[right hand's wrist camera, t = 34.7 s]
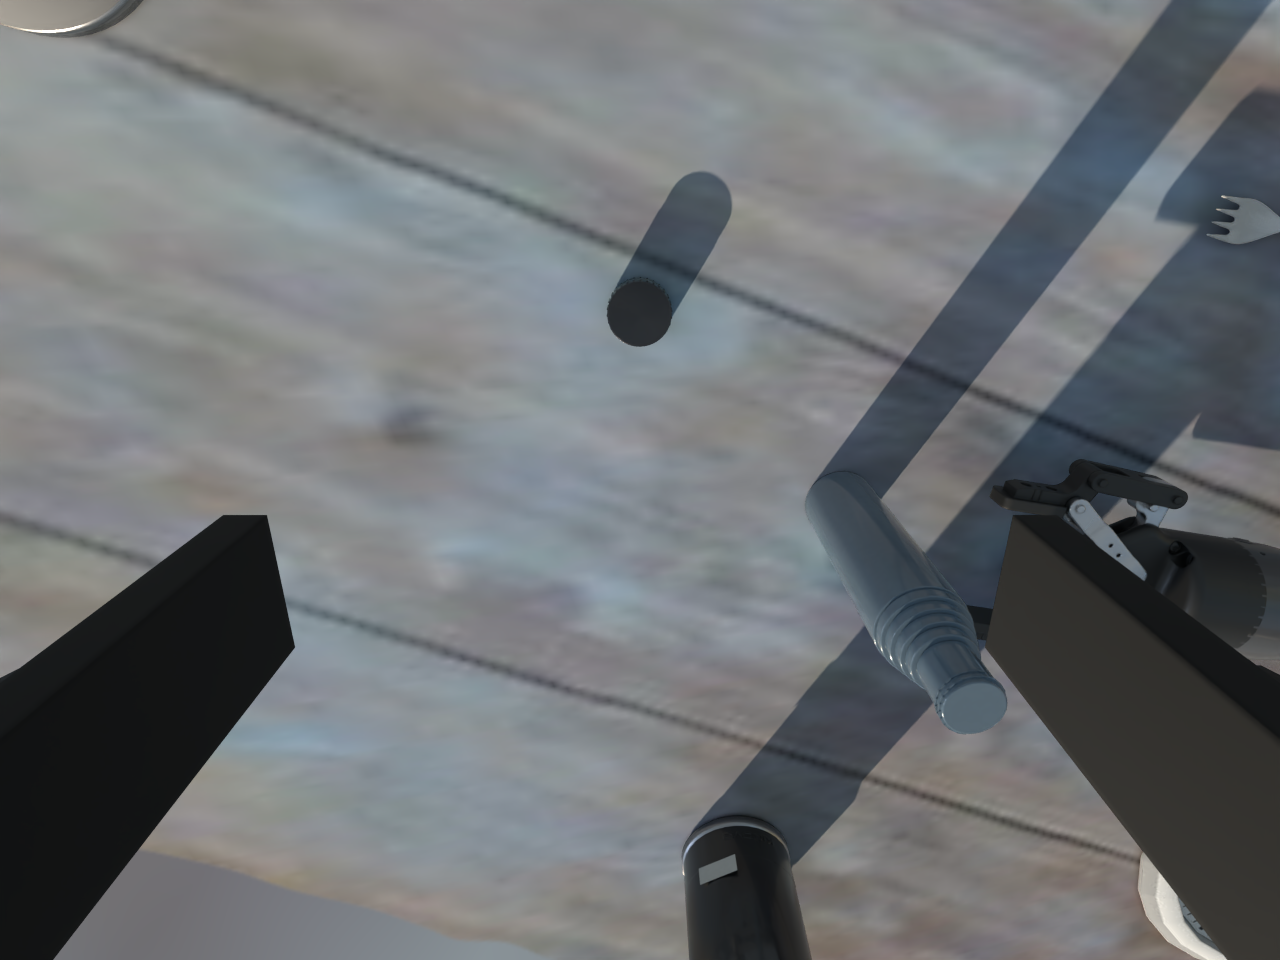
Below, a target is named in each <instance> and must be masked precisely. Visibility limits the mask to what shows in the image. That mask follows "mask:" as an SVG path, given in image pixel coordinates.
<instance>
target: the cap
mask: <svg viewBox="0 0 1280 960" xmlns="http://www.w3.org/2000/svg"><path fill="white" fill-rule="evenodd" d="M668 298H669V297H668V294H666V293H665V290H664V289H662V287H660V284H657V283H655V282H654V280H653V281H651V280H649V279H648V278H646V279H644V278H641V277H640V278H633V279H630V280H627V281H626V282H624V283H621V285H620V286H619V287H616V289H615V291H614V293H613V292H612V295H611V299H609V302H608V303H609V305H608V307H607V310H608V311H607V317H608V323H609V325H610V328H611V330H612V332H613V333H614V335H615V336H616V337H617V338H618V339H620V340H621V341H622V342H624V343H626V344H628V345H631V346H639V347H641V346H647V345H651V344H653V343H655V342H657V341H658V340H659V339H661V338H662V337H663V336H664V334H665V333H666V331H667V330H668V328H669V325H670V322H671V319H672V308H671V302H670V301H669V299H668Z"/></svg>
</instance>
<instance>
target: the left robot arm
mask: <svg viewBox="0 0 1280 960" xmlns="http://www.w3.org/2000/svg"><path fill="white" fill-rule="evenodd" d="M1069 473H1070V475H1069V476H1068V477H1067V478H1066V480H1065V481H1063V482H1062V483H1060V484H1058V485H1047V484H1041V483H1034V482H1028V481H1022V480H1016V479H1014V480H1009V481H1006V482H1005V484H1004V487H1002V486H993V489H992V491H991V494H990V498H991V499H993V500H994V501H995V502H996V503H997V504H998V505H1000V506H1001V507H1003V508H1005V509H1008V510H1014V511H1020V512H1026V513H1033V514H1039V515H1057V516H1058V517H1060V518H1063V519H1064V520H1065V522H1066V523H1068V524H1069V525H1070V526H1072V527H1073V528H1074V529H1076V530H1077V531H1078V532H1080V533H1081V534H1082V535H1084V536H1085V537H1086V538H1088V539H1089V540H1090V541H1092V542H1093V543H1094V544H1096V545H1097V546H1098V547H1100V548H1101V549H1102V550H1104V551H1105V552H1106V553H1108V554H1109V555H1110V556H1112V557H1113V558H1114V559H1116V560H1117V561H1118V562H1120V563H1121V564H1122V565H1124V566H1125V567H1126V568H1128V569H1129V570H1130V571H1132V572H1133V573H1134V574H1136V575H1137V576H1138V577H1140V578H1141V579H1142V580H1144V581H1145V582H1146V583H1148V584H1149V585H1150V586H1152V587H1153V588H1154V589H1156V590H1157V591H1158V592H1160V593H1161V594H1162V595H1164V596H1165V597H1166V598H1168V599H1169V600H1170V601H1172V602H1173V603H1174V604H1175V605H1177V606H1178V607H1179V608H1181V609H1182V610H1183V611H1185V612H1186V613H1187V614H1189V615H1190V616H1191V617H1193V618H1194V619H1195V620H1197V621H1198V622H1199V623H1201V624H1202V625H1203V626H1205V627H1206V628H1207V629H1209V630H1210V631H1211V632H1213V633H1214V634H1215V635H1217V636H1218V637H1219V638H1221V639H1222V640H1223V641H1225V642H1226V643H1227V644H1229V645H1230V646H1231V647H1233V648H1234V649H1235V650H1237V651H1238V652H1239V653H1241V654H1242V655H1243V656H1245V657H1246V658H1247V659H1249V660H1279V661H1280V549H1278V548H1275V547H1271V546H1268V545H1264V544H1259V543H1254V542H1250V541H1248V540H1245V539H1240V538H1223V537H1216V536H1210V535H1203V534H1197V533H1191V532H1184V531H1178V530H1172V529H1166V528H1159V525H1160V523H1161V521H1162V520H1163V518H1164V516H1165V514H1166V512H1167V511H1168V509H1169V508H1171V509H1178V508H1181V507H1182V506H1184V505H1185V503H1186V502H1187V500H1188V495H1187V493H1186V492H1185V491H1183V490H1181V489H1179V488H1177V487H1175V486H1173V485H1172V484H1170V483H1168V482H1166V481H1164V480H1162V479H1160V478H1158V477H1157V476H1153V475H1149V474H1145V473H1140V472H1136V471H1132V470H1127V469H1123V468H1118V467H1114V466H1110V465H1105V464H1101V463H1096V462H1092V461H1088V460H1083V459H1079V460H1076V461H1074V462H1073V463H1072V464H1071V466H1070V468H1069ZM1098 492H1099V493H1104V494H1108V495H1113V496H1117V497H1122V498H1126V499H1127V503H1128V504H1129V505H1130V506H1132V507H1133V508H1135V509H1136V511H1137V515H1136V517H1128V518H1125V519H1123V520H1120V521H1118V522H1115V523H1113V524H1110V525H1107V524H1106V523H1105V522H1104V521H1103V520H1102V519H1101V517H1100V516H1099V515H1098V513H1097V512H1096V511H1095V510H1094V508H1093V507H1092V506H1091V504H1090V501H1091V500H1092V499H1093V498H1094V497H1095V496H1096V494H1097V493H1098ZM966 606H967V608H968V611H969V613H970V614H971V616H972V619H973V622H974V628H975V631H976V637H977V639H982V640H987V636H988V631H989V626H990V622H991V617H992V612H993V609H988V608H982V607H975V606H968V605H966ZM682 869H683V874H684V881H685V901H686V916H687V931H688V947H689V960H812V958H811V953H810V949H809V944H808V940H807V936H806V931H805V927H804V922H803V918H802V913H801V909H800V905H799V900H798V896H797V891H796V886H795V882H794V878H793V874H792V869H791V865H790V855H789V850H788V846H787V843H786V841H785V839H784V837H783V836H782V834H781V833H780V832H779V831H778V830H777V829H776V828H774V827H773V826H771V825H770V824H768V823H766V822H764V821H762V820H759V819H755V818H751V817H743V816H732V817H724V818H720V819H716V820H713V821H711V822H709V823H706V824H705V825H703V826H701V827H700V828H698V829H697V830H696V831H695V832H693V833H692V835H691V836H690V837H689V838H688V840H687V841H686V843H685V845H684V848H683V851H682Z"/></svg>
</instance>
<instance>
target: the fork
mask: <svg viewBox="0 0 1280 960" xmlns="http://www.w3.org/2000/svg"><path fill="white" fill-rule="evenodd" d="M1221 197H1223V198H1225V199H1227V200H1229V201H1232V202H1234V203H1237V204H1238V205H1239V206H1240V207H1239V209H1238V210H1229V209H1216V210H1218V211H1220V212H1223V213H1225V214H1227V215H1230V216H1232V217H1234V221H1233V222H1231V223H1229V222H1214V221H1213V222H1212V223H1214V224H1216V225H1218V226H1221V227H1224V228H1227V229H1228V230H1229V231H1230V232H1229V234H1228V235H1218V234H1206V235H1207V236H1210V237H1212V238H1215V239H1218V240H1221V241H1224V242H1227V243H1231V244H1244V243H1248V242H1252V241H1255V240H1258V239H1261V238H1264V237H1267V236H1269V235H1272V234H1276V233H1279V232H1280V217H1279V216H1278V215H1277V214H1276V213H1274V212H1273V211H1272V210H1271V209H1270V208H1269V207H1267V206H1266V205H1265V204H1263V203H1262V202H1260V201H1258V200H1255V199H1251V198H1240V197H1232V196H1225V195H1222V196H1221Z"/></svg>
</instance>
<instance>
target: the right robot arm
mask: <svg viewBox="0 0 1280 960" xmlns="http://www.w3.org/2000/svg"><path fill="white" fill-rule="evenodd" d="M142 1H143V0H0V24H1V25H4V26H7V27H11V28H15V29H18V30H22V31H26V32H30V33H33V34H37V35H43V36H50V37H79V36H84V35H89V34H93V33H96V32H99V31H102V30H105V29H107V28H109V27H111V26H113V25H115V24H117V23H118V22H120V21H121V20H123V19H124V18H126V17H127V16H128V15H129V14H130V13H131V12H133V11H134V10H135V9H136V8H137V7H138V6H139V4H140V3H141V2H142ZM294 648H295V645H294V640H293V636H292V631H291V626H290V622H289V617H288V612H287V607H286V603H285V598H284V593H283V589H282V584H281V579H280V575H279V570H278V565H277V560H276V556H275V551H274V546H273V542H272V537H271V532H270V528H269V523H268V518H267V515H223V516H222V517H220V518H219V519H218V520H216V521H215V522H214V523H212V524H211V525H210V526H208V527H207V528H206V529H204V530H203V531H202V532H200V533H199V534H198V535H196V536H195V537H194V538H192V539H191V540H190V541H188V542H187V543H186V544H184V545H183V546H182V547H180V548H179V549H178V550H176V551H175V552H174V553H172V554H171V555H170V556H168V557H167V558H166V559H164V560H163V561H162V562H160V563H159V564H158V565H156V566H155V567H154V568H152V569H151V570H150V571H148V572H147V573H146V574H144V575H143V576H142V577H140V578H139V579H138V580H136V581H135V582H134V583H132V584H131V585H130V586H128V587H127V588H126V589H124V590H123V591H122V592H120V593H119V594H118V595H116V596H115V597H114V598H112V599H111V600H110V601H108V602H107V603H106V604H105V605H103V606H102V607H101V608H99V609H98V610H97V611H95V612H94V613H93V614H91V615H90V616H89V617H87V618H86V619H85V620H83V621H82V622H81V623H79V624H78V625H77V626H75V627H74V628H73V629H71V630H70V631H69V632H67V633H66V634H65V635H63V636H62V637H61V638H59V639H58V640H57V641H55V642H54V643H53V644H51V645H50V646H49V647H47V648H46V649H45V650H43V651H42V652H41V653H39V654H38V655H37V656H35V657H34V658H33V659H31V660H30V661H29V662H27V663H26V664H25V665H23V666H22V667H21V668H19V669H17V670H15V671H13V672H11V673H9V674H7V675H5V676H3V677H1V678H0V960H53V959H54V958H55V957H56V955H57V954H58V953H59V951H60V950H61V949H62V948H63V946H64V945H65V944H66V942H67V941H68V940H69V939H70V937H71V936H72V935H73V933H74V932H75V931H76V929H77V928H78V927H79V926H80V924H81V923H82V922H83V920H84V919H85V918H86V917H87V915H88V914H89V913H90V911H91V910H92V909H93V907H94V906H95V905H96V904H97V902H98V901H99V900H100V899H101V897H102V896H103V895H104V893H105V892H106V891H107V889H108V888H109V887H110V886H111V884H112V883H113V882H114V880H115V879H116V878H117V877H118V875H119V874H120V873H121V871H122V870H123V869H124V868H125V866H126V865H127V864H128V862H129V861H130V860H131V858H132V857H133V856H134V855H135V853H136V852H137V851H138V849H139V848H140V847H141V846H142V844H143V843H144V842H145V840H146V839H147V838H148V837H149V835H150V834H151V833H152V831H153V830H154V829H155V827H156V826H157V825H158V824H159V822H160V821H161V820H162V818H163V817H164V816H165V815H166V813H167V812H168V811H169V809H170V808H171V807H172V806H173V804H174V803H175V802H176V800H177V799H178V798H179V796H180V795H181V794H182V793H183V791H184V790H185V789H186V787H187V786H188V785H189V784H190V782H191V781H192V780H193V778H194V777H195V776H196V775H197V773H198V772H199V771H200V769H201V768H202V767H203V765H204V764H205V763H206V762H207V760H208V759H209V758H210V756H211V755H212V754H213V753H214V751H215V750H216V749H217V747H218V746H219V745H220V744H221V742H222V741H223V740H224V738H225V737H226V736H227V735H228V733H229V732H230V731H231V729H232V728H233V727H234V725H235V724H236V723H237V722H238V720H239V719H240V718H241V716H242V715H243V714H244V713H245V711H246V710H247V709H248V707H249V706H250V705H251V704H252V702H253V701H254V700H255V698H256V697H257V696H258V694H259V693H260V692H261V691H262V689H263V688H264V687H265V685H266V684H267V683H268V682H269V680H270V679H271V678H272V676H273V675H274V674H275V673H276V671H277V670H278V669H279V667H280V666H281V665H282V663H283V662H284V661H285V660H286V658H287V657H288V656H289V654H290V653H291V652H292V651H293V649H294ZM985 648H986V649H987V651H988V652H989V653H990V654H991V656H992V657H993V658H994V660H995V661H996V662H997V663H998V665H999V666H1000V667H1001V669H1002V670H1003V671H1004V673H1005V674H1006V675H1007V676H1008V678H1009V679H1010V680H1011V682H1012V683H1013V684H1014V685H1015V687H1016V688H1017V689H1018V691H1019V692H1020V693H1021V694H1022V696H1023V697H1024V698H1025V700H1026V701H1027V702H1028V704H1029V705H1030V706H1031V707H1032V709H1033V710H1034V711H1035V713H1036V714H1037V715H1038V716H1039V718H1040V719H1041V720H1042V722H1043V723H1044V724H1045V725H1046V727H1047V728H1048V729H1049V731H1050V732H1051V733H1052V735H1053V736H1054V737H1055V738H1056V740H1057V741H1058V742H1059V744H1060V745H1061V746H1062V747H1063V749H1064V750H1065V751H1066V753H1067V754H1068V755H1069V756H1070V758H1071V759H1072V760H1073V762H1074V763H1075V764H1076V766H1077V767H1078V768H1079V769H1080V771H1081V772H1082V773H1083V775H1084V776H1085V777H1086V778H1087V780H1088V781H1089V782H1090V784H1091V785H1092V786H1093V787H1094V789H1095V790H1096V791H1097V793H1098V794H1099V795H1100V796H1101V798H1102V799H1103V800H1104V802H1105V803H1106V804H1107V806H1108V807H1109V808H1110V809H1111V811H1112V812H1113V813H1114V815H1115V816H1116V817H1117V818H1118V820H1119V821H1120V822H1121V824H1122V825H1123V826H1124V827H1125V829H1126V830H1127V831H1128V833H1129V834H1130V835H1131V837H1132V838H1133V839H1134V840H1135V842H1136V843H1137V844H1138V846H1139V847H1140V848H1141V849H1142V851H1143V852H1144V853H1145V855H1146V856H1147V857H1148V858H1149V860H1150V861H1151V862H1152V864H1153V865H1154V866H1155V868H1156V869H1157V870H1158V871H1159V873H1160V874H1161V875H1162V877H1163V878H1164V879H1165V880H1166V882H1167V883H1168V884H1169V886H1170V887H1171V888H1172V889H1173V891H1174V892H1175V893H1176V895H1177V896H1178V897H1179V899H1180V900H1181V901H1182V902H1183V904H1184V905H1185V906H1186V908H1187V909H1188V910H1189V911H1190V913H1191V914H1192V915H1193V917H1194V918H1195V919H1196V920H1197V922H1198V923H1199V924H1200V926H1201V927H1202V928H1203V929H1204V931H1205V932H1206V933H1207V935H1208V936H1209V937H1210V939H1211V940H1212V941H1213V942H1214V944H1215V945H1216V946H1217V948H1218V949H1219V950H1220V951H1221V953H1222V954H1223V955H1224V957H1225V958H1226V959H1227V960H1280V675H1279V674H1277V673H1275V672H1273V671H1271V670H1269V669H1267V668H1265V667H1263V666H1261V665H1255V664H1254V663H1253V662H1251V661H1250V660H1249V659H1247V658H1246V657H1245V656H1243V655H1242V654H1241V653H1239V652H1238V651H1237V650H1235V649H1234V648H1233V647H1231V646H1230V645H1229V644H1227V643H1226V642H1225V641H1223V640H1222V639H1221V638H1219V637H1218V636H1217V635H1215V634H1214V633H1213V632H1211V631H1210V630H1209V629H1207V628H1206V627H1205V626H1203V625H1202V624H1201V623H1199V622H1198V621H1197V620H1195V619H1194V618H1193V617H1191V616H1190V615H1189V614H1187V613H1186V612H1185V611H1183V610H1182V609H1181V608H1179V607H1178V606H1177V605H1175V604H1174V603H1173V602H1172V601H1170V600H1169V599H1168V598H1166V597H1165V596H1164V595H1162V594H1161V593H1160V592H1158V591H1157V590H1156V589H1154V588H1153V587H1152V586H1150V585H1149V584H1148V583H1146V582H1145V581H1144V580H1142V579H1141V578H1140V577H1138V576H1137V575H1136V574H1134V573H1133V572H1132V571H1130V570H1129V569H1128V568H1126V567H1125V566H1124V565H1122V564H1121V563H1120V562H1118V561H1117V560H1116V559H1114V558H1113V557H1112V556H1110V555H1109V554H1108V553H1106V552H1105V551H1104V550H1102V549H1101V548H1100V547H1098V546H1097V545H1096V544H1094V543H1093V542H1092V541H1090V540H1089V539H1088V538H1086V537H1085V536H1084V535H1082V534H1081V533H1080V532H1078V531H1077V530H1076V529H1074V528H1073V527H1072V526H1070V525H1069V524H1068V523H1066V522H1065V521H1064V520H1062V519H1061V518H1060V517H1058V516H1057V515H1013V518H1012V523H1011V528H1010V532H1009V537H1008V542H1007V546H1006V551H1005V556H1004V560H1003V565H1002V570H1001V575H1000V579H999V584H998V589H997V593H996V598H995V603H994V607H993V612H992V617H991V622H990V626H989V631H988V636H987V640H986V645H985Z"/></svg>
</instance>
